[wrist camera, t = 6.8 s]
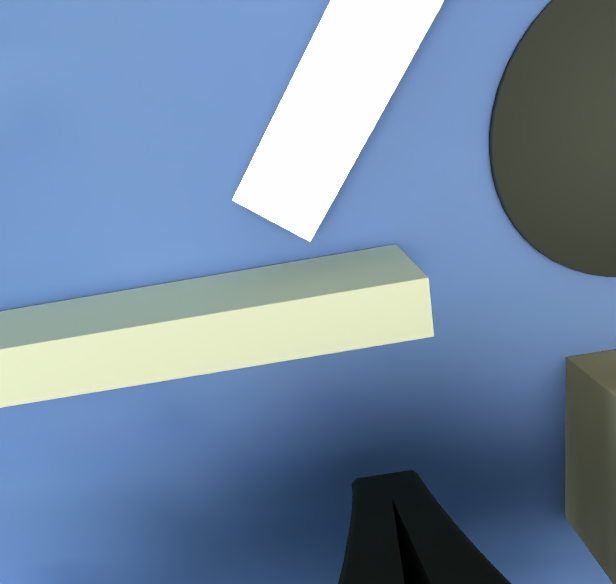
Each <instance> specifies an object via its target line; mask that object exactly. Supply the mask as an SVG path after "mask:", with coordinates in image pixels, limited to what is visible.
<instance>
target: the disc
mask: <svg viewBox="0 0 616 584" xmlns="http://www.w3.org/2000/svg"><path fill="white" fill-rule="evenodd" d="M490 160H491V168H492V175H493V179H494V183H495V186H496V190H497V194H498V196H499V198H500V201H501V203H502V205H503V208H504V210H505V212H506V213H507V215H508V217H509V218H510V220H511V222H512V223H513V225H514V226H515V228H516V229H517V230H518V231H519V232H520V234H521V235H522V236H523V237H524V238H525V240H527V241H528V242H529V243H530V244H531V245H532V246H533V247H534V248H536V249H537V250H538V251H539V252H541V253H542V254H544V255H545V256H547V257H548V258H550V259H552V260H553V261H555V262H558V263H560V264H562V265H564V266H566V267H569V268H571V269H573V270H577V271H580V272H583V273H587V274H591V275H598V276H605V277H616V0H552V1H551V2H550V3H549V4H547V6H546V7H545V8H544V9H543V10H542V12H541V13H540V14H539V15H538V16H537V18H536V19H535V20H534V21H533V22H532V24H531V25H530V27H529V28H528V30H527V31H526V33H525V34H524V36H523V37H522V39H521V40H520V42H519V43H518V45H517V47H516V49H515V51H514V53H513V55H512V56H511V58H510V60H509V62H508V64H507V66H506V69H505V72H504V74H503V77H502V80H501V82H500V85H499V88H498V91H497V95H496V99H495V103H494V107H493V111H492V119H491V127H490Z"/></svg>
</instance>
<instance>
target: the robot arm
mask: <svg viewBox="0 0 616 584" xmlns="http://www.w3.org/2000/svg"><path fill="white" fill-rule="evenodd" d="M352 492H353V496H352V514H351V522H350V529H349V535H348V541H347V546H346V551H345V557H344V562H343V566H342V570H341V574H340V578H339V582H338V584H511V583H510V582H509V581H508V580H507V579H506V578H505V577H504V576H503V575H502V574H501V573H500V572H499V571H498V570H497V569H496V568H495V567H494V566H493V565H492V564H491V563H490V562H489V561H488V560H487V558H486V557H485V556H484V555H483V554H482V553H481V552H480V551H479V550H478V549H477V548H476V547H475V546H474V544H473V543H472V542H471V541H470V540H469V539H468V538H467V537H466V535H465V534H464V533H463V532H462V531H461V530H460V529H459V527H458V526H457V525H456V524H455V523H454V522H453V520H452V519H451V518H450V517H449V516H448V514H447V513H446V512H445V511H444V509H443V508H442V507H441V506H440V504H439V503H438V502H437V501H436V499H435V498H434V497H433V495H432V494H431V493H430V491H429V490H428V488H427V487H426V486H425V484H424V483H423V481H422V480H421V478H420V477H419V475H418V474H417V473H416V472H414V471H413V470H409V471H402V472H396V473H389V474H383V475H377V476H370V477H364V478H357V479H356V480H355V481H354V482H353V483H352Z"/></svg>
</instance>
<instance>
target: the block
mask: <svg viewBox="0 0 616 584" xmlns="http://www.w3.org/2000/svg"><path fill="white" fill-rule="evenodd" d="M565 517H566V519H567V520H568V521H569V523H570V524H571V526H572V527H573V528H574V530H575V531H576V533H577V534H578V535H579V537H580V538H581V539H582V541H583V542H584V544H585V545H586V546H587V548H588V549H589V551H590V552H591V553H592V555H593V556H594V558H595V559H596V560H597V562H598V563H599V565H600V566H601V567H602V569H603V570H604V572H605V573H606V574H607V576H608V577H609V579H610V580H611V581H612V583H613V584H616V349H614V350H608V351H601V352H595V353H589V354H582V355H576V356H569V357H566V450H565Z"/></svg>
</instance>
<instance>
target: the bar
mask: <svg viewBox="0 0 616 584" xmlns="http://www.w3.org/2000/svg"><path fill="white" fill-rule="evenodd" d="M443 2H444V0H331V1H330V3H329V5H328V7H327V9H326V11H325V13H324V15H323V17H322V19H321V21H320V23H319V25H318V27H317V29H316V31H315V33H314V35H313V37H312V39H311V41H310V44H309V46H308V48H307V50H306V52H305V54H304V56H303V58H302V60H301V62H300V64H299V66H298V68H297V70H296V72H295V74H294V76H293V78H292V80H291V82H290V84H289V86H288V88H287V90H286V92H285V94H284V96H283V98H282V100H281V102H280V104H279V106H278V108H277V110H276V112H275V114H274V116H273V118H272V120H271V122H270V125H269V127H268V129H267V131H266V133H265V135H264V137H263V139H262V141H261V143H260V145H259V147H258V149H257V151H256V153H255V155H254V157H253V159H252V161H251V163H250V165H249V167H248V169H247V171H246V173H245V175H244V177H243V179H242V181H241V183H240V185H239V187H238V189H237V191H236V193H235V195H234V197H233V199H232V200H233V201H235V202H237V203H238V204H240V205H242V206H244V207H246V208H248V209H250V210H252V211H253V212H255V213H257V214H259V215H261V216H263V217H265V218H267V219H268V220H270V221H272V222H274V223H276V224H278V225H280V226H281V227H283V228H285V229H287V230H289V231H291V232H293V233H295V234H296V235H298V236H300V237H302V238H304V239H306V240H308V241H311V239H312V238H313V236H314V234H315V232H316V230H317V229H318V227H319V225H320V223H321V221H322V220H323V218H324V216H325V214H326V212H327V211H328V209H329V207H330V205H331V203H332V202H333V200H334V198H335V196H336V194H337V193H338V191H339V189H340V187H341V185H342V184H343V182H344V180H345V178H346V176H347V175H348V173H349V171H350V169H351V167H352V166H353V164H354V162H355V160H356V158H357V157H358V155H359V153H360V151H361V149H362V148H363V146H364V144H365V142H366V140H367V139H368V137H369V135H370V133H371V131H372V130H373V128H374V126H375V124H376V122H377V121H378V119H379V117H380V115H381V113H382V112H383V110H384V108H385V106H386V104H387V103H388V101H389V99H390V97H391V95H392V94H393V92H394V90H395V88H396V86H397V85H398V83H399V81H400V79H401V77H402V76H403V74H404V72H405V70H406V68H407V67H408V65H409V63H410V61H411V59H412V58H413V56H414V54H415V52H416V50H417V49H418V47H419V45H420V43H421V41H422V40H423V38H424V36H425V34H426V32H427V31H428V29H429V27H430V25H431V23H432V22H433V20H434V18H435V16H436V14H437V13H438V11H439V9H440V7H441V5H442V4H443Z"/></svg>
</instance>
